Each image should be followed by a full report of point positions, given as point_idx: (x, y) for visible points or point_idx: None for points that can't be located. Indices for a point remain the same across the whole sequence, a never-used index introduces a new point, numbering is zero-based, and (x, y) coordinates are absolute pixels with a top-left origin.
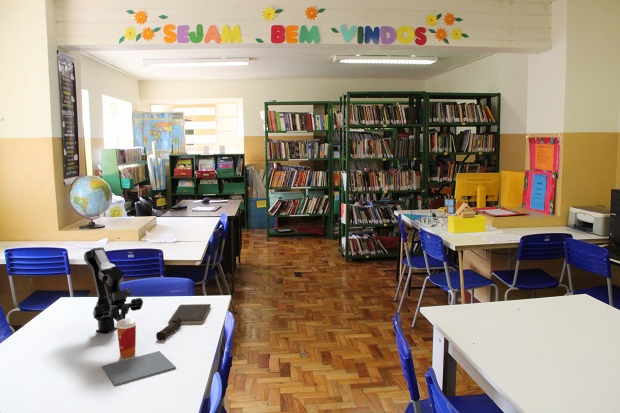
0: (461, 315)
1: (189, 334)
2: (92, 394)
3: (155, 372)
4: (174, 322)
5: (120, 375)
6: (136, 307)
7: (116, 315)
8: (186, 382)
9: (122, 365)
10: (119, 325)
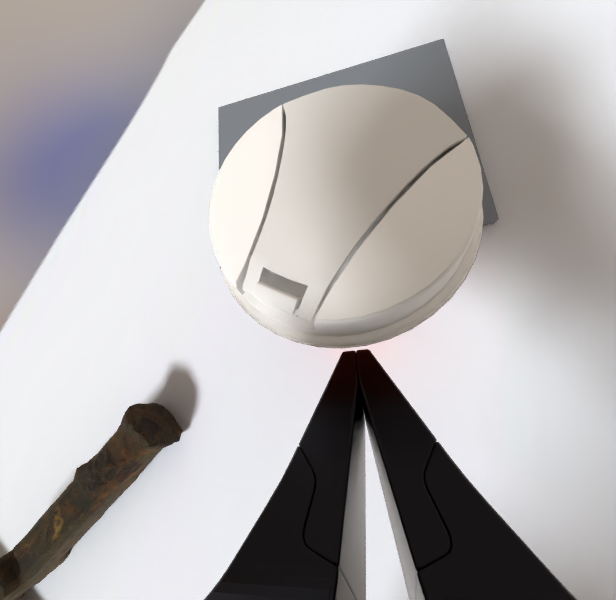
0: None
1: (56, 406)
2: (531, 6)
3: (288, 88)
4: (15, 555)
5: None
6: None
7: (515, 533)
8: (228, 26)
9: None
10: (440, 123)
